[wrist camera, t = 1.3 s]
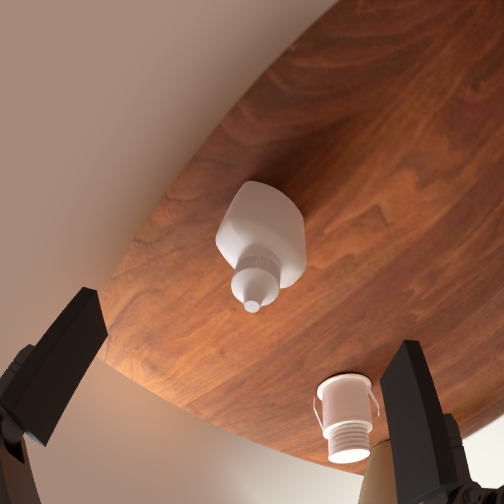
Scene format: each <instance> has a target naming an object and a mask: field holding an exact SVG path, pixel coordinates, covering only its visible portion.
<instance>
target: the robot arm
mask: <svg viewBox="0 0 504 504" xmlns="http://www.w3.org/2000/svg"><path fill="white" fill-rule="evenodd" d="M107 336H108V333H107V330H106V326H105V322H104V318H103V315H102V311H101V307H100V302H99V298H98V294H97V291H96V290H93V289H89V288H85V287H82V289H81V290H80V291H79V292H78V293H77V294H76V296H75V297H74V298H73V299H72V300H71V301H70V303H69V304H68V305H67V306H66V308H65V309H64V310H63V311H62V313H61V314H60V315H59V316H58V317H57V319H56V320H55V321H54V323H53V324H52V325H51V326H50V328H49V329H48V330H47V331H46V333H45V334H44V335H43V337H42V338H41V339H40V341H39V342H38V343H37V345H36V346H33V345H31V344H29V345H27V346H26V347H25V348H23V349H22V350H20V352H19V353H18V354H17V356H16V357H15V358H14V361H13V362H11V364H10V365H9V367H8V369H6V371H5V372H4V374H3V375H2V376H1V378H0V504H41V502H40V499H39V496H38V492H37V489H36V486H35V482H34V479H33V475H32V471H31V467H30V463H29V458H28V454H27V449H26V445H25V440H24V438H23V434H24V432H25V433H26V434H27V435H28V436H29V437H30V438H31V439H33V440H34V441H36V442H38V443H39V444H41V445H43V446H45V447H46V445H47V443H48V441H49V439H50V437H51V435H52V433H53V431H54V429H55V427H56V425H57V423H58V421H59V419H60V417H61V415H62V413H63V412H64V410H65V408H66V406H67V404H68V403H69V401H70V399H71V397H72V395H73V394H74V391H75V390H76V388H77V386H78V385H79V383H80V381H81V379H82V377H83V376H84V374H85V372H86V371H87V369H88V367H89V366H90V364H91V362H92V361H93V359H94V357H95V356H96V354H97V352H98V351H99V349H100V347H101V346H102V344H103V343H104V341H105V339H106V338H107ZM380 384H381V389H382V394H383V400H384V405H385V411H386V417H387V423H388V429H389V436H390V442H391V449H392V457H393V465H394V474H395V483H396V494H397V504H419V503H421V502H423V504H504V485H503V486H501V487H499V488H498V489H491V488H490V489H489V488H481V486H480V485H479V484H478V483H477V482H474V481H472V479H471V477H470V473H469V468H468V464H467V459H466V455H465V451H464V447H463V446H462V444H463V443H462V439H461V437H460V431H459V428H458V424H457V422H456V421H455V419H454V418H453V416H452V415H451V413H450V414H443V413H442V409H441V406H440V402H439V399H438V396H437V393H436V389H435V386H434V383H433V380H432V377H431V374H430V371H429V368H428V365H427V362H426V359H425V357H424V354H423V351H422V348H421V346H420V343H419V341H412V340H404V341H403V343H402V345H401V346H400V348H399V350H398V351H397V353H396V355H395V356H394V358H393V360H392V361H391V363H390V364H389V366H388V368H387V369H386V371H385V372H384V374H383V375H382V377H381V378H380Z"/></svg>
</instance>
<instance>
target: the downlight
mask: <svg viewBox="0 0 504 504" xmlns="http://www.w3.org/2000/svg"><path fill="white" fill-rule="evenodd" d="M368 393H370V395H371V397H372V399H373V400H374V402H375V404H376V406H377V407H378V416H379V414H380V411H379V404H378V402H377V400H376V398H375V397H374V395H373V393H372V392H371V382H370V380H369V379H368V378H367V377H365V376H363V375H360V374H342V375H337V376H334V377H331V378H329V379H327V380H326V381H324V382H323V383H322V384H321V385H320V386H319V388H318V390H317V394H318V397H319V398H320V399H321V400H322V406H323V427H322V424H321V422H320V419H319V417H318V414H317V412H316V410H315V407H314V410H315V413H316V415H317V418H318V420H319V423H320V425H321V428H322V430H323V436H324V437H325V438H326V439H328V440H329V460H330V461H331V462H334V463H351V462H356V461H359V460H362V459H364V458H366V457H368V456H369V455H370V450H369V449H370V448H369V438H368V433H369V432H370V431H371V430H372V419H371V412H370V404H369V398H368ZM314 404H315V399H314Z"/></svg>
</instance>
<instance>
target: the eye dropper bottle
mask: <svg viewBox="0 0 504 504" xmlns="http://www.w3.org/2000/svg"><path fill="white" fill-rule="evenodd" d="M215 240H216V244H217V247H218V248H219V250H220V252H221V253H222V255H223V256H224V257H225V259H226V260H227V261H228V262H229V264H230V265H231V266H232V267H233V268H234V269H235V270H234V274H233V277H232V280H231V288H232V292H233V294H234V296H235V297H236V298H237V299H238V300H239V301H241V302H242V303H244V308H245V309H246V310H247V311H248V312H256V311H258V310H259V308H260V306H264V305H268V304H270V303H271V302H272V301H274V300H275V299H276V298H277V296H278V294H279V291H280V288H286V287H289V286H291V285H292V284H293V283H294V282H296V280H297V279H298V278H299V277H300V276H301V275H302V274H303V273H304V271H305V269H306V243H305V231H304V221H303V216H302V214H301V213H300V211H299V209H298V208H297V207H296V205H295V204H294V203H293V202H292V201H291V200H290V199H289V198H288V197H287V196H286V195H285V194H283V193H282V192H280V191H279V190H277V189H275V188H273V187H271V186H269V185H267V184H264V183H260V182H256V181H247V182H245V183H244V184H243V185H242V187H241V188H240V189H239V191H238V192H237V194H236V195H235V197H234V199H233V201H232V203H231V205H230V207H229V209H228V211H227V213H226V215H225V217H224V219H223V221H222V223H221V225H220V227H219V230H218V232H217V235H216V239H215Z"/></svg>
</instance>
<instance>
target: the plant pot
mask: <svg viewBox="0 0 504 504" xmlns="http://www.w3.org/2000/svg"><path fill="white" fill-rule="evenodd" d="M358 504H397V494H396V483H395V474H394V465H393V457H392V449H391V442H390V440H388V441H385V442H382V443H380V444H378V445H376V446H375V447H374V448H373V449H372V452H371V455H370V458H369V461H368V464H367V468H366V471H365V475H364V479H363V483H362V487H361V492H360V496H359V501H358ZM419 504H423V502H421V503H419Z"/></svg>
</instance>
